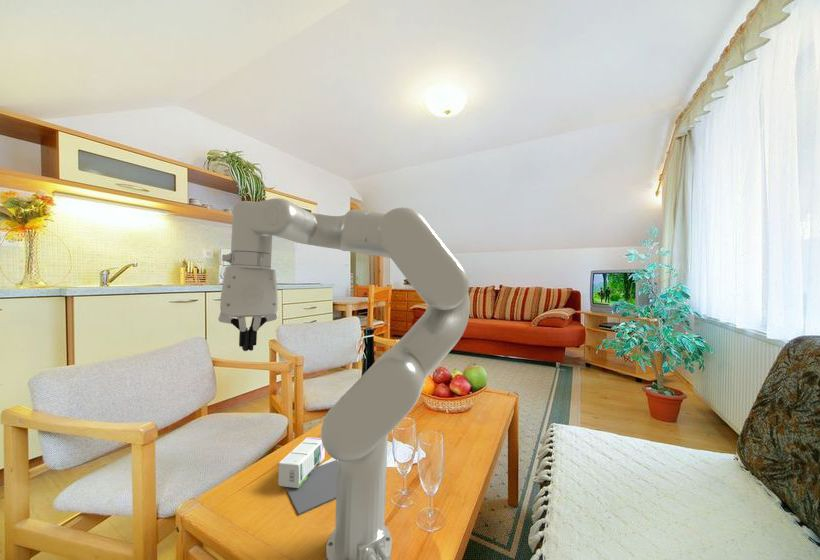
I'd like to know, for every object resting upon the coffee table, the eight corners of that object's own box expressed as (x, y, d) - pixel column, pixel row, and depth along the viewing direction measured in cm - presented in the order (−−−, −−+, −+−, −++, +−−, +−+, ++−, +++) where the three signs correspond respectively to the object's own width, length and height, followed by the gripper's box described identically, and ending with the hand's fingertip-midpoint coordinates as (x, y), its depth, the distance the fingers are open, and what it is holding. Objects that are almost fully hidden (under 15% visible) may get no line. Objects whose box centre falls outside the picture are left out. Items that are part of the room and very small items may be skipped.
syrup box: (298, 464, 72) (326, 437, 86) (277, 462, 73) (308, 436, 87) (298, 488, 72) (326, 457, 86) (276, 486, 73) (307, 456, 87)
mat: (359, 488, 74) (359, 486, 74) (298, 515, 65) (298, 513, 65) (336, 461, 85) (336, 459, 85) (281, 481, 76) (281, 479, 76)
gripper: (209, 258, 54) (205, 357, 54) (293, 263, 63) (289, 349, 63) (207, 260, 60) (202, 350, 59) (283, 265, 69) (280, 343, 69)
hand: (247, 349), depth 61 cm, fingers closed
